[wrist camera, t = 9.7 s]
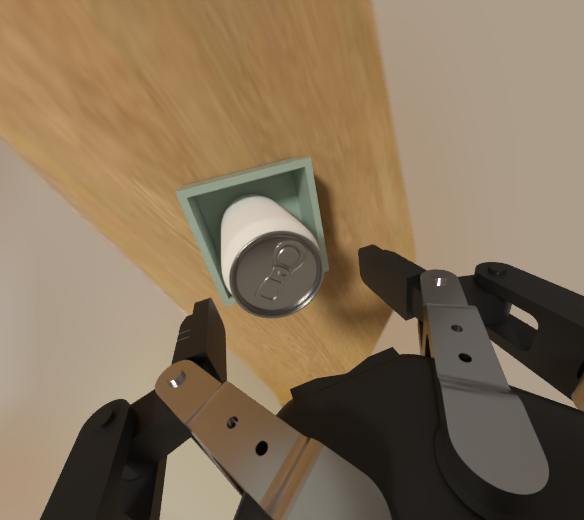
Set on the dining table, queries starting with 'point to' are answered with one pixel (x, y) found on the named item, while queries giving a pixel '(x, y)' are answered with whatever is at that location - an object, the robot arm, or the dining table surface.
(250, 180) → the bin
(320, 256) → the can
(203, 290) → the dining table surface
